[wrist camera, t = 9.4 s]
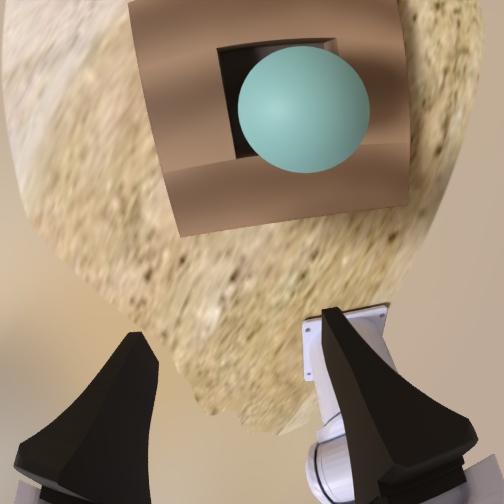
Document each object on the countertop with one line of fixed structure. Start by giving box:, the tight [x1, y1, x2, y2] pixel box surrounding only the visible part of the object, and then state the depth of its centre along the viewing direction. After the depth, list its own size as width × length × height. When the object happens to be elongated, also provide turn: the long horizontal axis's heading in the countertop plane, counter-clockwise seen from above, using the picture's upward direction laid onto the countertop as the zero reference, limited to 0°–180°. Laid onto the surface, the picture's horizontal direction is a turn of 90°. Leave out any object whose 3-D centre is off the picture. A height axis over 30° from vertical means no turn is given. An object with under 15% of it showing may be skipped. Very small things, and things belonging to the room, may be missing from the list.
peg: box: [238, 46, 370, 173], centre depth 12 cm, size 4×4×8 cm
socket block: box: [128, 0, 410, 238], centre depth 15 cm, size 14×14×3 cm
